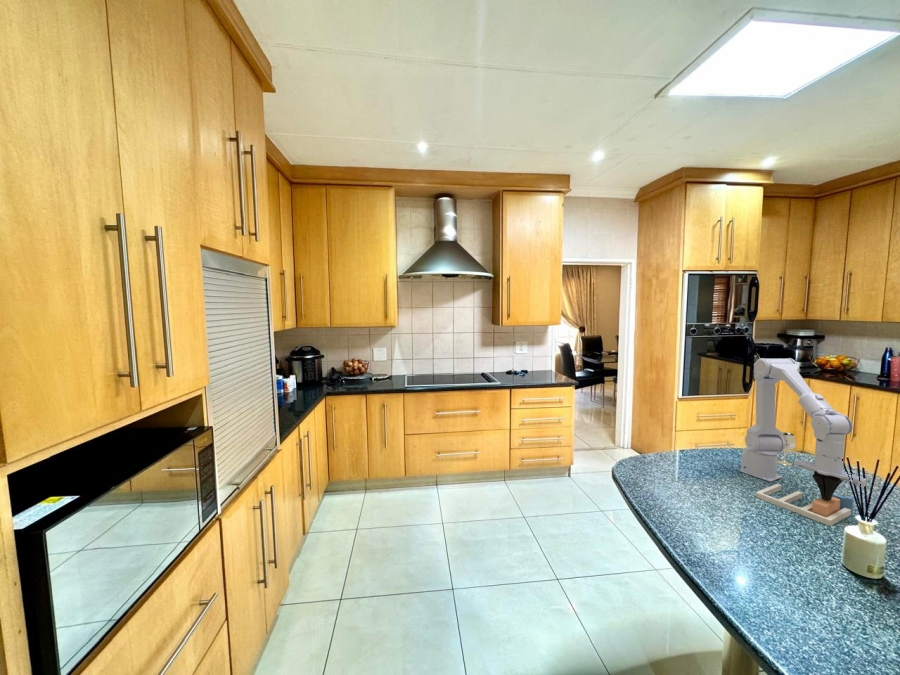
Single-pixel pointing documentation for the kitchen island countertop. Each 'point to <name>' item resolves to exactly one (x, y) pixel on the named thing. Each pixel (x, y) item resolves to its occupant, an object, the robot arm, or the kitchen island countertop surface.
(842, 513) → the comb organizer
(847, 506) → the blue bracket
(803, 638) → the kitchen island countertop surface
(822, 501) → the tall peach block
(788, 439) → the wineglass
